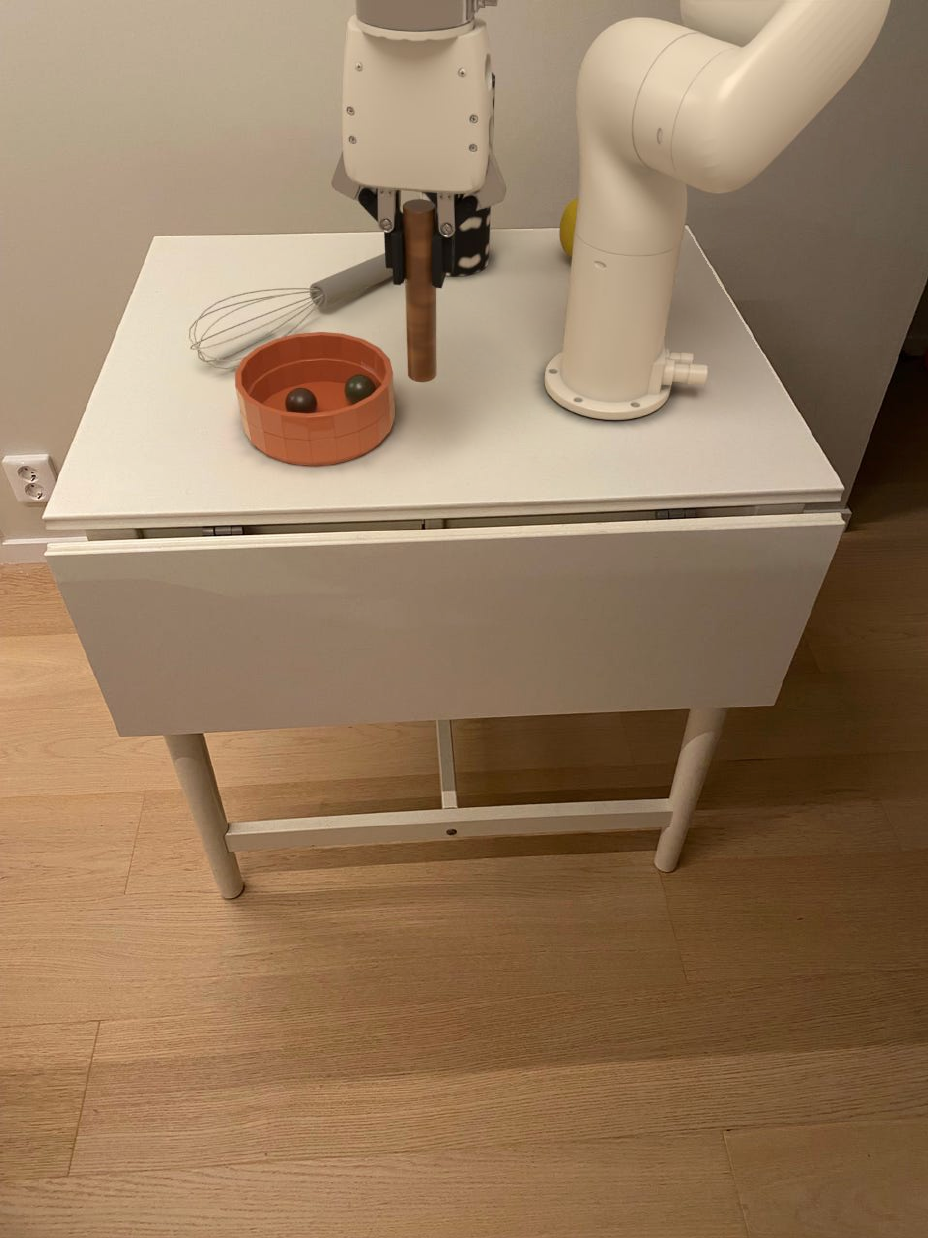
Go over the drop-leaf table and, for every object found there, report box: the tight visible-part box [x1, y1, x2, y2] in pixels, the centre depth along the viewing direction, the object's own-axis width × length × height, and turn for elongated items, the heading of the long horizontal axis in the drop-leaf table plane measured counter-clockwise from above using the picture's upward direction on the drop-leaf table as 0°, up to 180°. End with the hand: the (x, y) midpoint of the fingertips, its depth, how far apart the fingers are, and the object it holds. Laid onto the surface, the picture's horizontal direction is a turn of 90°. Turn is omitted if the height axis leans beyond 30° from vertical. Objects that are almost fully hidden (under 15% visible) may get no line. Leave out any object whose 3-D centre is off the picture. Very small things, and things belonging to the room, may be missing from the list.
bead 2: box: [344, 374, 376, 405], centre depth 88 cm, size 3×3×3 cm
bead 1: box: [285, 388, 318, 413], centre depth 86 cm, size 3×3×3 cm
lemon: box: [558, 197, 578, 258], centre depth 109 cm, size 6×6×8 cm
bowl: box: [234, 331, 396, 467], centre depth 86 cm, size 14×14×6 cm
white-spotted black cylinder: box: [418, 72, 496, 277], centre depth 104 cm, size 8×8×20 cm
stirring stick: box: [402, 198, 438, 383], centre depth 72 cm, size 2×2×14 cm
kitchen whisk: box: [188, 252, 393, 370], centre depth 100 cm, size 6×34×6 cm, turn 142°
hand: (420, 276), depth 71 cm, fingers closed on stirring stick, 2 cm apart
